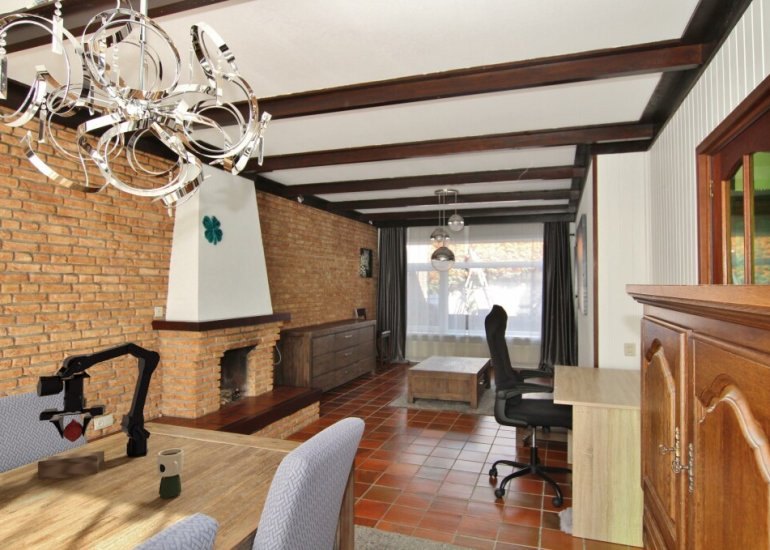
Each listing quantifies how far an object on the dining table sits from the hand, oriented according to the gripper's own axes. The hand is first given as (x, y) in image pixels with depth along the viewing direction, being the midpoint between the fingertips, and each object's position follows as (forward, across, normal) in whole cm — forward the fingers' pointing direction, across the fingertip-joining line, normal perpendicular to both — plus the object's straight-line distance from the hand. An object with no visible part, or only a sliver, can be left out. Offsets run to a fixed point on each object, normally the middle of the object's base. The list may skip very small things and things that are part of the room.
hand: (73, 437), depth 163 cm
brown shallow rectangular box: (+12, 0, 0) cm, 12 cm away
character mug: (+12, -33, +35) cm, 50 cm away
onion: (+2, 0, 0) cm, 2 cm away
